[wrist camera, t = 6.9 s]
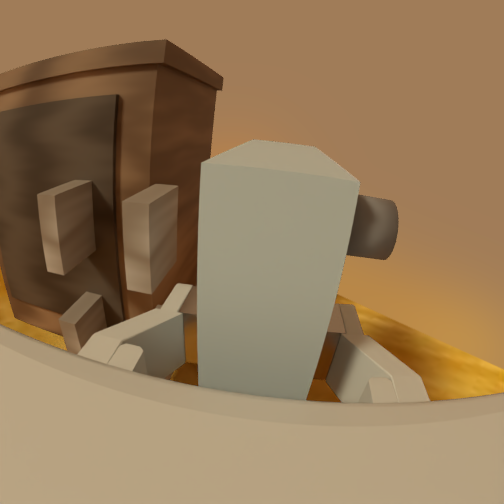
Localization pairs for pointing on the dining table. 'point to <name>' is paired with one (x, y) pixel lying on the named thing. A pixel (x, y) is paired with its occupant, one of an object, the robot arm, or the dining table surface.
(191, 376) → the dining table surface
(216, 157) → the door
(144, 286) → the cabinet
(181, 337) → the robot arm
